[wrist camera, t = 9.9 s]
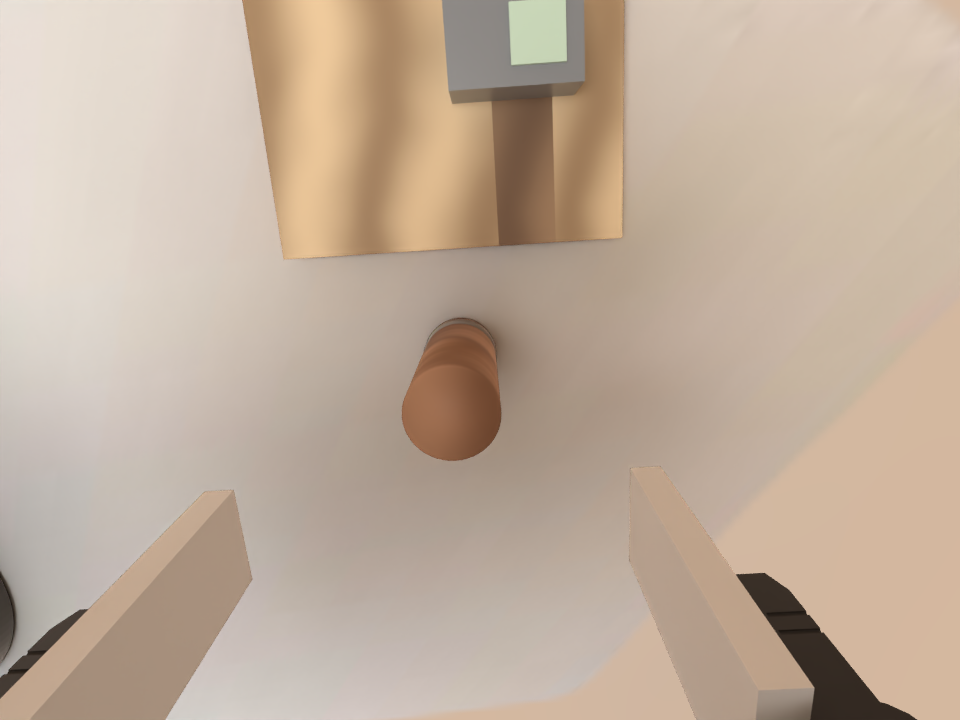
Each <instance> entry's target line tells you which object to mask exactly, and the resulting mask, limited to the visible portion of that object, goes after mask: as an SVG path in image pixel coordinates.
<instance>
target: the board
mask: <svg viewBox="0 0 960 720" xmlns="http://www.w3.org/2000/svg"><path fill="white" fill-rule="evenodd" d="M242 1H243V8H244V14H245V20H246V26H247V33H248V39H249V45H250V51H251V58H252V64H253V70H254V77H255V83H256V89H257V95H258V102H259V108H260V114H261V120H262V127H263V133H264V139H265V145H266V152H267V158H268V164H269V170H270V177H271V183H272V189H273V195H274V202H275V208H276V214H277V220H278V227H279V233H280V239H281V245H282V252H283V258H284V259H299V258H315V257H330V256H346V255H361V254H377V253H392V252H408V251H424V250H439V249H455V248H470V247H486V246H502V245H517V244H533V243H548V242H564V241H579V240H595V239H611V238H622V206H623V85H624V0H584V41H585V82H584V83H583V84H582V85H581V87H580V88H579V89H578V90H577V92H576V93H575V94H574V95H571V96H557V97H543V98H529V99H515V100H501V101H487V102H473V103H459V104H452V102H451V98H450V94H449V91H448V77H447V64H446V50H445V36H444V23H443V9H442V0H242Z"/></svg>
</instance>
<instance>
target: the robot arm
mask: <svg viewBox="0 0 960 720" xmlns="http://www.w3.org/2000/svg"><path fill="white" fill-rule="evenodd" d="M629 561H630V563H631V566H632V568H633V570H634V573H635V575H636V577H637V580H638V582H639V585H640V587H641V589H642V592H643V594H644V596H645V599H646V601H647V604H648V606H649V608H650V611H651V613H652V615H653V618H654V620H655V623H656V625H657V627H658V630H659V632H660V634H661V637H662V639H663V641H664V644H665V646H666V648H667V651H668V653H669V656H670V658H671V661H672V663H673V665H674V668H675V670H676V673H677V675H678V677H679V680H680V682H681V684H682V687H683V689H684V691H685V694H686V696H687V698H688V701H689V703H690V706H691V708H692V710H693V713H694V715H695V718H696V720H917V719H915V718H914V717H912V716H911V715H910V714H908V713H906V712H903V711H901V710H899V709H897V708H895V707H892V706H890V705H888V704H885V703H880V702H879V701H878V699H877V698H876V697H875V696H874V694H873V693H872V692H871V691H870V689H869V688H868V687H867V686H866V684H865V683H864V682H863V681H862V680H861V678H860V677H859V676H858V675H857V673H856V672H855V671H854V670H853V668H852V667H851V666H850V665H849V664H848V662H847V661H846V660H845V658H844V657H843V656H842V655H841V654H840V652H839V651H838V650H837V649H836V647H835V646H834V645H833V644H832V643H831V641H830V640H829V639H828V637H827V636H826V635H825V634H824V633H821V631H820V628H819V626H818V625H817V624H816V623H815V621H814V620H813V619H812V618H811V617H810V615H807V614H806V610H805V609H804V608H803V607H802V605H801V604H800V603H799V602H798V601H797V599H796V598H795V597H794V595H793V594H792V593H791V592H790V591H789V590H788V589H787V588H785V587H784V586H782V585H781V584H780V583H778V582H777V581H775V580H774V579H772V578H771V577H769V576H768V575H767V574H765V573H755V574H735V573H734V572H733V570H732V569H731V567H730V566H729V564H728V563H727V562H726V560H725V559H724V557H723V556H722V554H721V553H720V552H719V550H718V549H717V547H716V546H715V544H714V543H713V541H712V540H711V539H710V537H709V536H708V534H707V533H706V531H705V530H704V528H703V527H702V526H701V524H700V523H699V521H698V520H697V518H696V517H695V516H694V514H693V513H692V511H691V510H690V508H689V507H688V505H687V504H686V503H685V501H684V500H683V498H682V497H681V495H680V494H679V493H678V491H677V490H676V488H675V487H674V485H673V484H672V483H671V481H670V480H669V478H668V477H667V475H666V474H665V472H664V471H663V470H662V468H661V467H660V466H657V467H639V468H630V532H629ZM251 581H252V576H251V571H250V566H249V561H248V557H247V552H246V547H245V542H244V537H243V533H242V528H241V523H240V518H239V514H238V509H237V504H236V499H235V494H234V490H224V491H206V492H204V493H203V494H202V495H201V496H200V497H199V498H198V499H197V500H196V501H195V502H194V503H193V504H192V505H191V506H190V507H189V508H188V509H187V510H186V511H185V512H184V513H183V514H182V515H181V516H180V517H179V518H178V519H177V520H176V521H175V522H174V523H173V524H172V525H171V526H170V527H169V528H168V529H167V530H166V531H165V532H164V533H163V534H162V535H161V536H160V537H159V538H158V539H157V540H156V541H155V542H154V543H153V545H152V546H151V547H150V548H149V549H148V550H147V551H146V552H145V553H144V554H143V555H142V556H141V557H140V558H139V559H138V560H137V561H136V562H135V563H134V564H133V565H132V566H131V567H130V568H129V569H128V570H127V571H126V572H125V573H124V574H123V575H122V576H121V577H120V578H119V579H118V580H117V581H116V582H115V583H114V584H113V585H112V586H111V587H110V588H109V589H108V590H107V591H106V592H105V593H104V594H103V595H102V596H101V597H100V598H99V599H98V600H97V601H96V602H95V603H94V604H93V605H92V606H91V607H90V608H89V609H84V610H79V611H77V612H76V613H74V614H73V615H71V616H70V617H68V618H67V619H65V620H64V621H62V622H61V623H59V624H57V625H56V626H54V627H53V628H51V629H50V630H49V631H48V632H47V633H46V634H45V635H44V636H43V637H42V638H41V639H40V640H39V641H38V642H37V643H36V644H35V645H34V646H33V647H32V648H31V649H30V650H28V654H27V655H26V656H22V657H21V658H20V659H19V660H18V661H17V662H16V663H15V664H14V665H13V666H12V667H11V668H10V669H9V672H8V674H6V675H3V676H2V677H1V678H0V720H165V719H166V717H167V716H168V714H169V712H170V711H171V709H172V708H173V706H174V704H175V703H176V701H177V700H178V698H179V696H180V695H181V693H182V692H183V690H184V688H185V687H186V685H187V684H188V682H189V680H190V679H191V677H192V676H193V674H194V672H195V671H196V669H197V667H198V666H199V664H200V663H201V661H202V659H203V658H204V656H205V655H206V653H207V651H208V650H209V648H210V647H211V645H212V643H213V642H214V640H215V639H216V637H217V635H218V634H219V632H220V631H221V629H222V627H223V626H224V624H225V623H226V621H227V619H228V618H229V616H230V614H231V613H232V611H233V610H234V608H235V606H236V605H237V603H238V602H239V600H240V598H241V597H242V595H243V594H244V592H245V590H246V589H247V587H248V586H249V584H250V582H251ZM13 628H14V619H13V611H12V606H11V602H10V599H9V596H8V593H7V591H6V589H5V587H4V585H3V583H2V581H1V579H0V663H1V661H2V660H3V659H4V657H5V655H6V654H7V652H8V650H9V647H10V644H11V641H12V637H13Z"/></svg>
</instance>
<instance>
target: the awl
mask: <svg viewBox="0 0 960 720" xmlns="http://www.w3.org/2000/svg"><path fill="white" fill-rule="evenodd" d="M402 421H403V425H404V428H405V431H406V433H407V435H408V437H409V438H410V440H411V441H412V442H413V443H414V445H415V446H416V447H418V448H419V449H420V450H421V451H423V452H424V453H426V454H428V455H430V456H432V457H434V458H437V459H442V460H448V461H456V460H463V459H467V458H470V457H473V456H475V455H477V454H479V453H480V452H482V451H483V450H484V449H485V448H487V447H488V446H489V445H490V443H491V442H492V441H493V440H494V438H495V436H496V434H497V432H498V430H499V427H500V422H501V405H500V395H499V384H498V374H497V354H496V347H495V343H494V341H493V338H492V337H491V335H490V333H489V332H488V331H487V330H486V329H485V328H484V327H483V326H482V325H481V324H479V323H477V322H475V321H473V320H470V319H464V318H457V319H452V320H448V321H446V322H444V323H442V324H441V325H439V326H438V327H437V328H436V329H435V330H434V331H433V332H432V333H431V335H430V336H429V338H428V340H427V343H426V345H425V348H424V352H423V355H422V357H421V360H420V362H419V364H418V367H417V369H416V372H415V374H414V377H413V379H412V381H411V384H410V386H409V389H408V391H407V393H406V396H405V398H404V401H403V405H402Z"/></svg>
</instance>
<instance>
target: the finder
mask: <svg viewBox="0 0 960 720" xmlns="http://www.w3.org/2000/svg"><path fill="white" fill-rule="evenodd" d="M442 9H443V23H444V36H445V50H446V64H447V77H448V91H449V94H450V98H451V102H452V104H459V103H473V102H487V101H501V100H515V99H529V98H543V97H557V96H571V95H574V94H575V93H576V92H577V90H578V89H579V88H580V87H581V85H582V84H583V83H584V82H585V41H584V0H442Z"/></svg>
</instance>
